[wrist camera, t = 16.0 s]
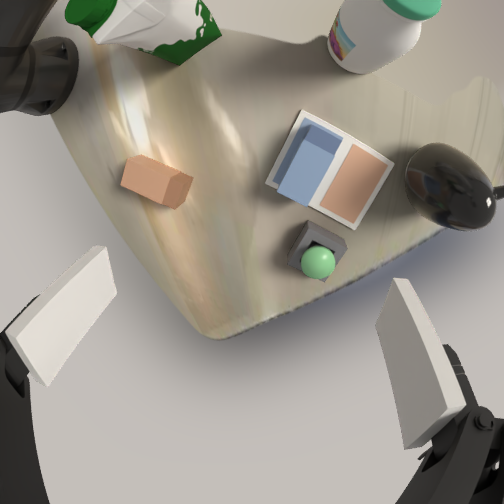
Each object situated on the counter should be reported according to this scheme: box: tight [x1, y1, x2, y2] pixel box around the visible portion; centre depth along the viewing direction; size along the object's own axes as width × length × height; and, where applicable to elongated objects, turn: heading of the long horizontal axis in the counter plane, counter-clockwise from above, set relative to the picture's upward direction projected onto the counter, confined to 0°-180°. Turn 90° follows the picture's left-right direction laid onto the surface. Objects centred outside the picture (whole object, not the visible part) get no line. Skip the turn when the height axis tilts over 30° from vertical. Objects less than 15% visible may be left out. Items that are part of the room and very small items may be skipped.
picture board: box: [265, 110, 395, 230], centre depth 34 cm, size 14×11×1 cm
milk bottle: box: [327, 0, 441, 74], centre depth 17 cm, size 8×8×20 cm
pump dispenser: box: [405, 143, 504, 231], centre depth 25 cm, size 10×10×15 cm
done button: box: [301, 245, 335, 279], centre depth 36 cm, size 4×4×3 cm
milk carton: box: [65, 0, 222, 66], centre depth 19 cm, size 9×9×20 cm
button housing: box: [287, 220, 348, 282], centre depth 38 cm, size 6×6×3 cm
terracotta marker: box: [121, 155, 193, 210], centre depth 36 cm, size 9×4×4 cm, turn 66°
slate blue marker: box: [277, 124, 342, 207], centre depth 32 cm, size 9×4×4 cm, turn 156°
